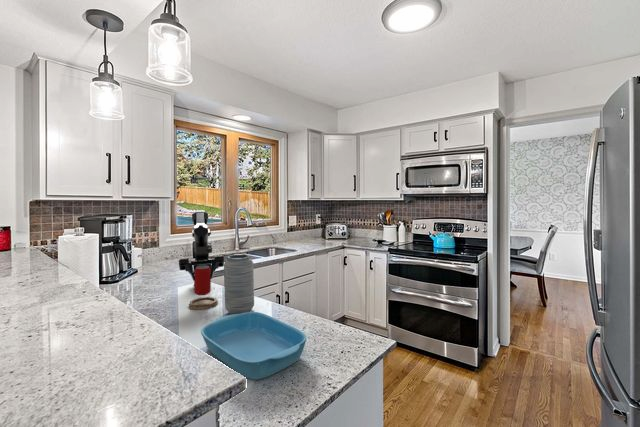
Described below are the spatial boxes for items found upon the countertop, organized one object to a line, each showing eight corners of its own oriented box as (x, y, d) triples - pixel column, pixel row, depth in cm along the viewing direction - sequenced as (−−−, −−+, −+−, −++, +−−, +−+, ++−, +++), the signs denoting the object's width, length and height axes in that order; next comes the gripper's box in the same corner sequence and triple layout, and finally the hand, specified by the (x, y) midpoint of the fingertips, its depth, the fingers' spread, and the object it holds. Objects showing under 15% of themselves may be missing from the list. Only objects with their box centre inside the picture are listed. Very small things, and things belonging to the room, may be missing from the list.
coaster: (203, 298, 143) (203, 295, 143) (223, 302, 138) (223, 298, 138) (182, 307, 132) (182, 303, 132) (203, 311, 127) (203, 307, 127)
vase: (219, 313, 125) (217, 257, 123) (239, 304, 135) (237, 252, 134) (241, 319, 119) (239, 260, 118) (260, 309, 129) (259, 254, 128)
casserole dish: (190, 346, 99) (190, 324, 98) (251, 325, 114) (251, 306, 114) (254, 400, 72) (253, 370, 72) (321, 363, 88) (321, 338, 88)
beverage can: (211, 290, 139) (211, 264, 139) (209, 295, 133) (209, 268, 132) (195, 291, 138) (195, 265, 137) (192, 296, 131) (193, 268, 130)
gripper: (178, 240, 134) (177, 271, 125) (223, 238, 141) (225, 267, 131) (180, 255, 142) (179, 285, 132) (222, 251, 149) (224, 280, 139)
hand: (202, 279), depth 134 cm, fingers closed on beverage can, 7 cm apart
